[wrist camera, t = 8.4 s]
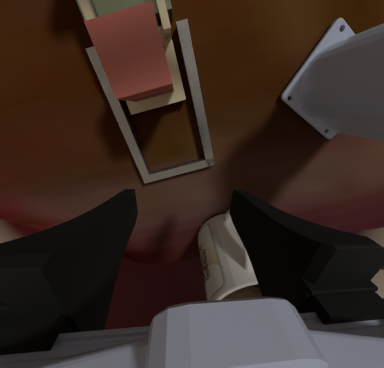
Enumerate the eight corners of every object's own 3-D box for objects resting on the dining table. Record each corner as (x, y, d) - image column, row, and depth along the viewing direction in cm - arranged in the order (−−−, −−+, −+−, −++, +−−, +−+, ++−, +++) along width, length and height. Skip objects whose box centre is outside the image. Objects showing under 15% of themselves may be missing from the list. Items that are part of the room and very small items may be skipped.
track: (213, 162, 21) (216, 167, 19) (145, 180, 21) (143, 187, 19) (146, -183, 10) (139, -247, 8) (9, -137, 10) (-26, -188, 8)
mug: (182, 241, 27) (186, 320, 17) (226, 189, 23) (264, 252, 13) (228, 261, 30) (253, 335, 20) (273, 218, 26) (331, 285, 16)
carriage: (185, 99, 17) (190, 95, 11) (133, 114, 17) (109, 118, 11) (141, -91, 11) (100, -318, 5) (63, -66, 11) (-63, -257, 5)
